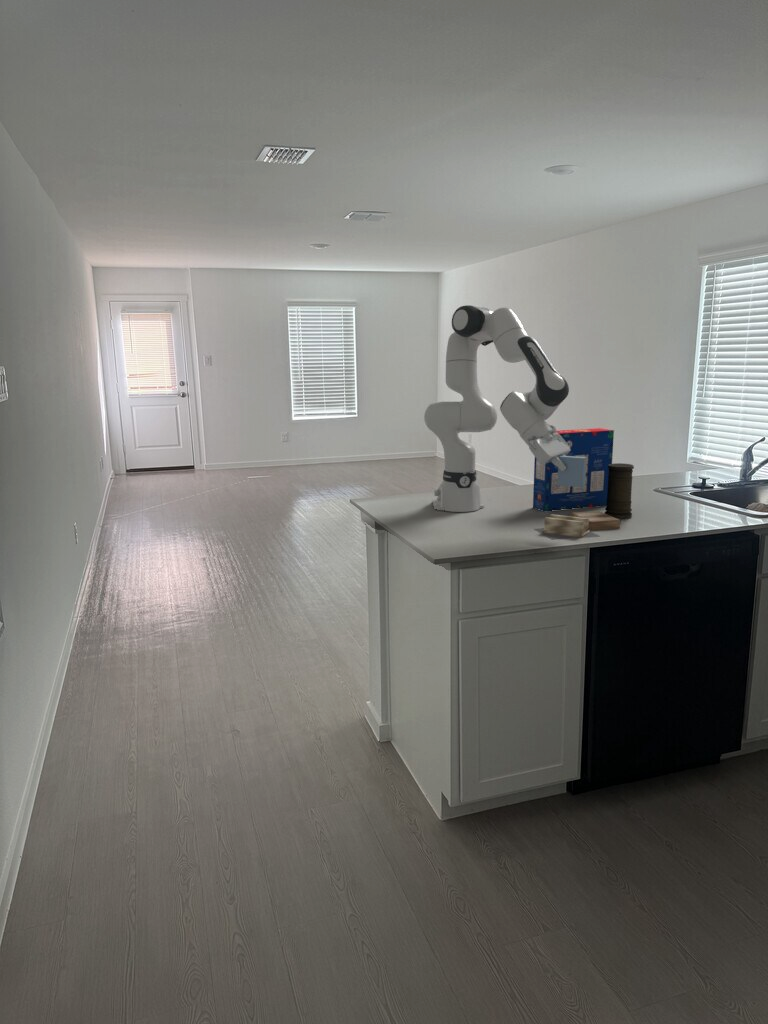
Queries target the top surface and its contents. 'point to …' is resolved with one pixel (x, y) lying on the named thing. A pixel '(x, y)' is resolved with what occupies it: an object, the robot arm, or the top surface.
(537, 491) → the blue cardboard box
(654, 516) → the top surface
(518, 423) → the robot arm
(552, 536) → the mat
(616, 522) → the brown flat block
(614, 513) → the container
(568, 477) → the light blue square slab
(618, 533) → the top surface
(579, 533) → the mottled beige block
